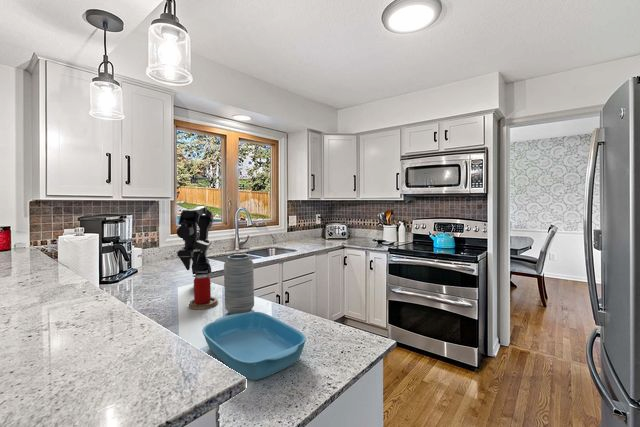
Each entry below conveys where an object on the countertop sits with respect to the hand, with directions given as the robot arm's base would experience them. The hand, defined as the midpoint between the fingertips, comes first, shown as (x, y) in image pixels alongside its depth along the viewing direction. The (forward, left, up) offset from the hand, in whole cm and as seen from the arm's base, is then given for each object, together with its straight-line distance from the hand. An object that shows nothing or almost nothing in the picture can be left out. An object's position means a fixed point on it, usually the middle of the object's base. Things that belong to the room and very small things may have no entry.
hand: (191, 267), depth 149 cm
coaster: (+9, +16, -13) cm, 22 cm away
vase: (+9, +36, -13) cm, 39 cm away
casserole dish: (+34, +62, -14) cm, 72 cm away
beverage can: (+9, +16, -12) cm, 22 cm away
